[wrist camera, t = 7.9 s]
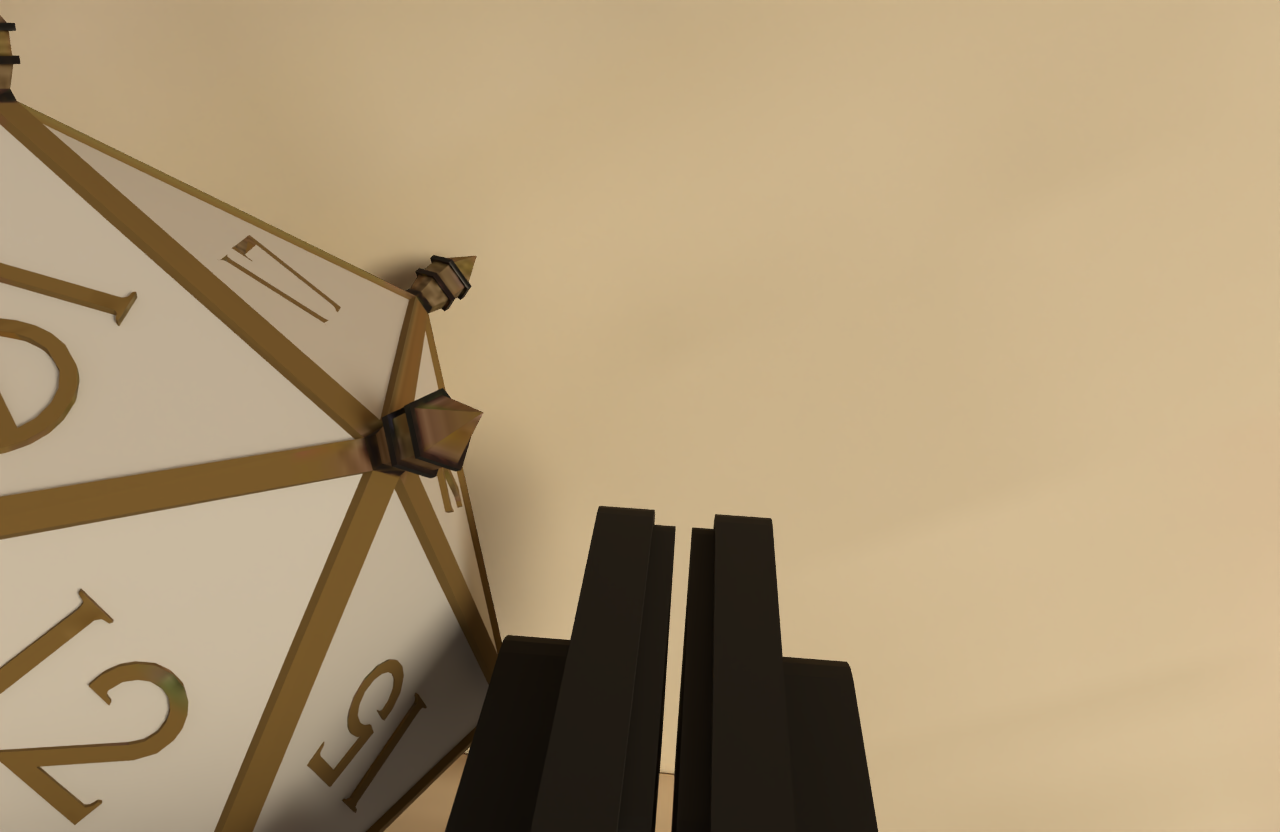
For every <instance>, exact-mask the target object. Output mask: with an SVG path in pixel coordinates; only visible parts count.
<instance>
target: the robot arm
mask: <svg viewBox="0 0 1280 832" xmlns="http://www.w3.org/2000/svg"><path fill="white" fill-rule="evenodd" d="M654 522H655V510H648V509H634V508H620V507H606V506H599V508H598V512H597V516H596V521H595V525H594V530H593V535H592V540H591V545H590V549H589V554H588V559H587V564H586V568H585V573H584V578H583V583H582V588H581V592H580V597H579V602H578V607H577V611H576V616H575V621H574V626H573V630H572V635H571V640H563V639H550V638H538V637H525V636H512V635H507V636H506V637H505V639H504V640H503V642H502V645H501V648H500V650H499V653H498V657H497V660H496V663H495V667H494V670H493V673H492V676H491V680H490V683H489V686H488V690H487V693H486V696H485V700H484V703H483V706H482V710H481V713H480V716H479V720H478V723H477V726H476V730H475V733H474V736H473V740H472V743H471V746H470V750H469V753H468V756H467V759H466V763H465V766H464V769H463V773H462V776H461V779H460V783H459V786H458V789H457V793H456V796H455V799H454V803H453V806H452V809H451V813H450V816H449V819H448V823H447V826H446V829H445V832H655V827H656V814H657V801H658V787H659V774H660V761H661V746H662V731H663V716H664V700H665V685H666V669H667V653H668V638H669V622H670V607H671V591H672V575H673V560H674V544H675V527H676V526H662V525H654ZM671 832H878V828H877V822H876V816H875V810H874V804H873V797H872V791H871V785H870V779H869V773H868V767H867V761H866V755H865V749H864V742H863V736H862V730H861V724H860V718H859V712H858V706H857V700H856V694H855V688H854V681H853V677H852V672H851V668H850V666H849V664H848V663H847V662H842V661H829V660H817V659H804V658H791V657H782V644H781V631H780V618H779V604H778V591H777V578H776V565H775V551H774V538H773V525H772V519H771V518H759V517H745V516H731V515H718V514H715V519H714V529H705V528H692V537H691V551H690V564H689V578H688V592H687V605H686V619H685V633H684V646H683V660H682V674H681V688H680V701H679V715H678V729H677V743H676V758H675V774H674V791H673V809H672V826H671Z"/></svg>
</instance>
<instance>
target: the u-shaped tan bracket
mask: <svg viewBox="0 0 1280 832" xmlns="http://www.w3.org/2000/svg"><path fill="white" fill-rule="evenodd" d="M467 756H468V755H466V754H462V755H461V756H460V757H459V758H458V759H457V760H456V761H455V762H454V763H453V764H452V765H451V766H450V767H449V768H448V769H447V770H446V771H445V772H444V773H443V774H442V775H441V776H440V777H439V778H438V779H437V780H435V781H434V782H433V783H432V784H431V785H430V786H429V787H428V788H427V789H426V790H425V791H424V792H423V793H422V794H421V795H420V796H419V797H418V798H417V799H416V800H415V801H414V802H413V803H412V804H411V805H410V806H409V807H408V808H407V809H406V810H405V811H404V812H403V813H402V814H401V815H400V816H399V817H398V818H397V819H396V820H395V821H394V822H393V823H392V824H391V825H390V826H389V827H388V828H387V829H386V830H385V831H384V832H445V829H446V826H447V823H448V819H449V816H450V813H451V809H452V806H453V803H454V799H455V796H456V793H457V789H458V786H459V783H460V779H461V776H462V773H463V769H464V766H465V763H466V759H467ZM673 791H674V775H670V774H659V787H658V801H657V814H656V827H655V832H671V826H672V809H673Z"/></svg>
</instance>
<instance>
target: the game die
mask: <svg viewBox="0 0 1280 832" xmlns="http://www.w3.org/2000/svg"><path fill="white" fill-rule="evenodd" d="M9 31H16V28H15V23H6V21H5V20H4V19H3V18H2V17H1V16H0V832H384V831H385V830H386V829H387V828H388V827H389V826H390V825H391V824H392V823H393V822H394V821H395V820H396V819H397V818H398V817H399V816H400V815H401V814H402V813H403V812H404V811H405V810H406V809H407V808H408V807H409V806H410V805H411V804H412V803H413V802H414V801H415V800H416V799H417V798H418V797H419V796H420V795H421V794H422V793H423V792H424V791H425V790H426V789H427V788H428V787H429V786H430V785H431V784H432V783H433V782H434V781H435V780H437V779H438V778H439V777H440V776H441V775H442V774H443V773H444V772H445V771H446V770H447V769H448V768H449V767H450V766H451V765H452V764H453V763H454V762H455V761H456V760H457V759H458V758H459V757H460V756H461V755H462V754H463V753H464V752H465V751H466V750H467V749H468V748H469V747H470V746H471V743H472V740H473V736H474V733H475V730H476V726H477V723H478V720H479V716H480V713H481V710H482V706H483V703H484V700H485V696H486V693H487V690H488V686H489V683H490V680H491V676H492V673H493V670H494V667H495V663H496V660H497V657H498V653H499V650H500V648H501V645H502V641H501V637H500V632H499V628H498V623H497V619H496V614H495V610H494V605H493V601H492V597H491V592H490V588H489V583H488V579H487V574H486V570H485V565H484V561H483V556H482V552H481V547H480V543H479V538H478V534H477V530H476V525H475V521H474V516H473V512H472V507H471V503H470V498H469V494H468V489H467V485H466V480H465V476H464V471H463V467H462V466H463V463H464V459H465V456H466V452H467V449H468V446H469V442H470V439H471V435H472V434H473V432H474V430H475V428H476V426H477V424H478V422H479V420H480V418H481V416H482V414H483V412H481V411H479V410H476V409H474V408H472V407H469V406H467V405H465V404H462V403H460V402H458V401H455V400H453V399H451V398H450V396H449V395H448V394H447V392H446V391H445V387H444V382H443V378H442V373H441V369H440V364H439V360H438V355H437V351H436V346H435V342H434V337H433V333H432V328H431V324H430V319H429V315H428V313H430V312H433V311H436V310H438V309H443V310H444V311H446V310H447V309H449V307H450V306H451V304H452V302H453V301H454V299H455V298H457V297H458V298H459V299H460V300H461V299H462V298H464V296H465V295H466V293H467V292H468V290H469V289H470V288H471V285H470V284H469V279H470V276H471V272H472V269H473V266H474V262H475V259H476V256H468V257H454V258H444V257H439V256H435V255H433V256H432V257H431V258H430V259H431V262H432V263H431V264H430V265H429V266H428V267H427V268H426V269H425V270H424V269H420V268H419V269H418V270H417V271H415V272H416V274H417V279H416V280H415V282H414V283H413V285H412V287H411V288H410V289H408V290H405V291H404V290H402V289H400V288H398V287H396V286H394V285H392V284H390V283H388V282H386V281H384V280H382V279H380V278H378V277H376V276H374V275H372V274H370V273H368V272H366V271H363V270H361V269H359V268H357V267H355V266H353V265H351V264H349V263H347V262H345V261H343V260H341V259H339V258H337V257H335V256H333V255H331V254H329V253H327V252H325V251H323V250H321V249H318V248H316V247H314V246H312V245H310V244H308V243H306V242H304V241H302V240H300V239H298V238H296V237H294V236H292V235H290V234H288V233H286V232H284V231H282V230H280V229H278V228H276V227H273V226H271V225H269V224H267V223H265V222H263V221H261V220H259V219H257V218H255V217H253V216H251V215H249V214H247V213H245V212H243V211H241V210H239V209H237V208H235V207H233V206H231V205H228V204H226V203H224V202H222V201H220V200H218V199H216V198H214V197H212V196H210V195H208V194H206V193H204V192H202V191H200V190H198V189H196V188H194V187H192V186H190V185H188V184H186V183H183V182H181V181H179V180H177V179H175V178H173V177H171V176H169V175H167V174H165V173H163V172H161V171H159V170H157V169H155V168H153V167H151V166H149V165H147V164H145V163H143V162H141V161H138V160H136V159H134V158H132V157H130V156H128V155H126V154H124V153H122V152H120V151H118V150H116V149H114V148H112V147H110V146H108V145H106V144H104V143H102V142H100V141H98V140H96V139H94V138H91V137H89V136H87V135H85V134H83V133H81V132H79V131H77V130H75V129H73V128H71V127H69V126H67V125H65V124H63V123H61V122H59V121H57V120H55V119H53V118H51V117H49V116H46V115H44V114H42V113H40V112H38V111H36V110H34V109H32V108H30V107H28V106H26V105H24V104H22V103H20V102H18V101H16V99H15V97H14V95H13V93H12V91H11V90H10V85H11V77H12V69H13V64H20V58H19V56H12V51H11V45H10V38H9Z"/></svg>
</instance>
